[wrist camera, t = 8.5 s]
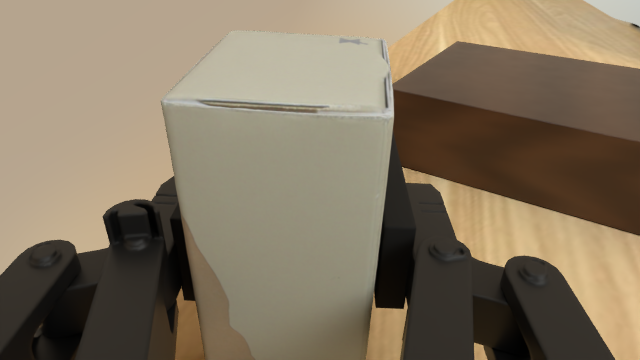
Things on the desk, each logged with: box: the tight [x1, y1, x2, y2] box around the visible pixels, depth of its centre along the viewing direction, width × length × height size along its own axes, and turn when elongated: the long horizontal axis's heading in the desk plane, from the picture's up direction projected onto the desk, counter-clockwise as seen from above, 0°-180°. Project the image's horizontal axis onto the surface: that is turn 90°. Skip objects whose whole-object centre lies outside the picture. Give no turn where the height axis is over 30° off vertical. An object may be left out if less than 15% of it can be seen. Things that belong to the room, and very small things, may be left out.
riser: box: [392, 41, 640, 235], centre depth 31 cm, size 16×14×5 cm
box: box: [161, 31, 394, 360], centre depth 13 cm, size 5×4×11 cm
